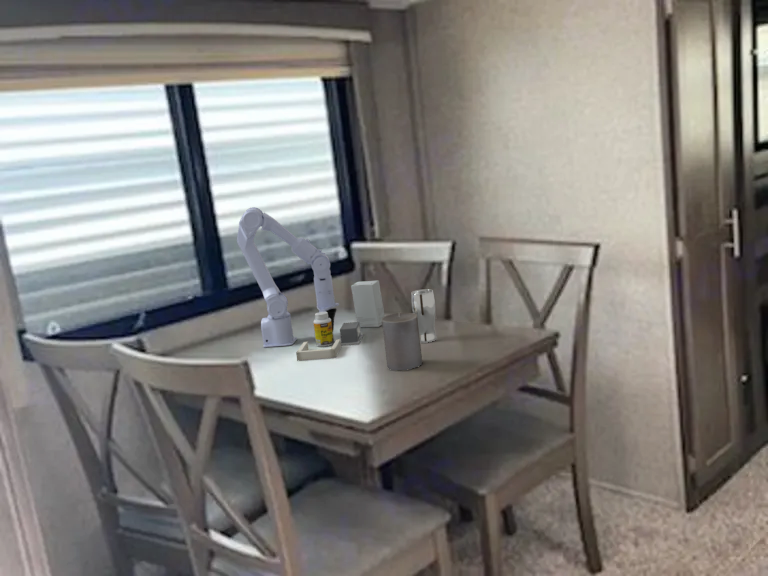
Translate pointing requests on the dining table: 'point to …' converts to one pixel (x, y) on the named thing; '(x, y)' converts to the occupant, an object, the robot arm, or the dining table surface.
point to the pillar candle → (402, 341)
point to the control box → (350, 334)
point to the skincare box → (368, 303)
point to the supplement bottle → (323, 329)
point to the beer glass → (424, 314)
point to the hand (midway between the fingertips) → (329, 332)
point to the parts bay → (318, 352)
